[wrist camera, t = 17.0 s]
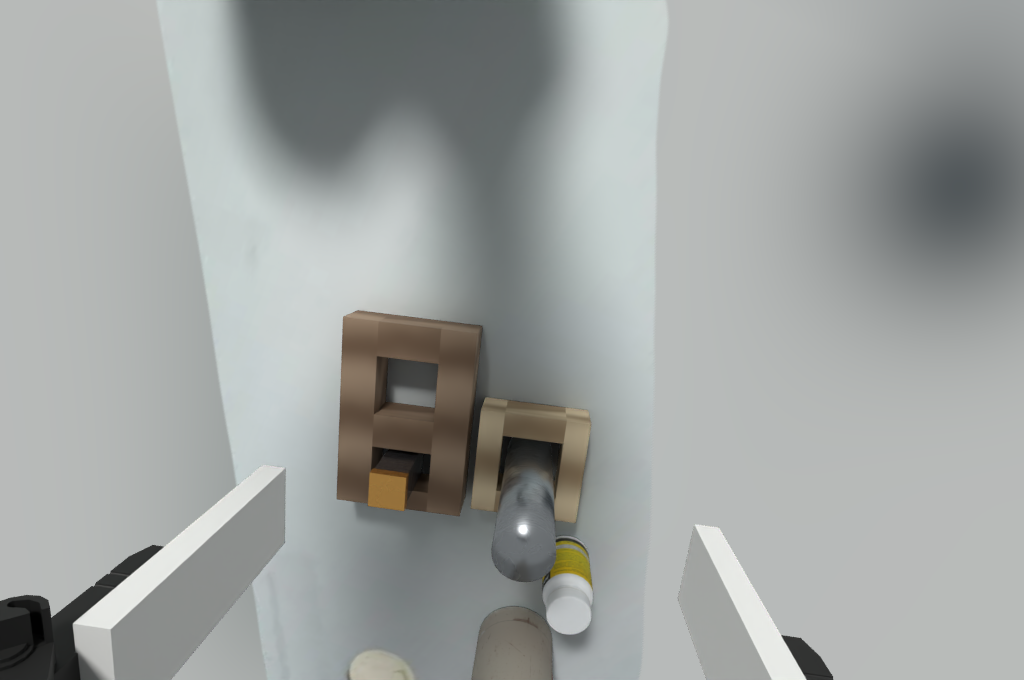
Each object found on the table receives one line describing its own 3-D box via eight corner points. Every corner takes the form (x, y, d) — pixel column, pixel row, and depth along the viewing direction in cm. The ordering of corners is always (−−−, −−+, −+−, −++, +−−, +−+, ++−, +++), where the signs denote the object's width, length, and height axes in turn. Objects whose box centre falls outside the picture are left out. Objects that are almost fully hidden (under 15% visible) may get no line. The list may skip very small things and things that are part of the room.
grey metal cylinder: (510, 427, 49) (495, 520, 33) (554, 433, 49) (560, 529, 33) (505, 468, 50) (488, 577, 34) (548, 473, 50) (551, 586, 34)
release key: (393, 439, 49) (369, 472, 43) (425, 444, 49) (406, 477, 43) (391, 469, 50) (367, 506, 43) (422, 473, 50) (404, 511, 43)
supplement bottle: (542, 533, 51) (541, 591, 43) (588, 534, 51) (596, 592, 43) (543, 574, 52) (542, 638, 44) (588, 574, 52) (596, 639, 44)
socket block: (357, 310, 47) (343, 316, 44) (482, 325, 47) (477, 333, 43) (350, 481, 51) (336, 499, 48) (465, 497, 51) (459, 516, 48)
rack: (485, 397, 48) (480, 409, 45) (588, 410, 48) (591, 424, 45) (475, 489, 51) (470, 508, 47) (573, 503, 50) (575, 523, 47)
